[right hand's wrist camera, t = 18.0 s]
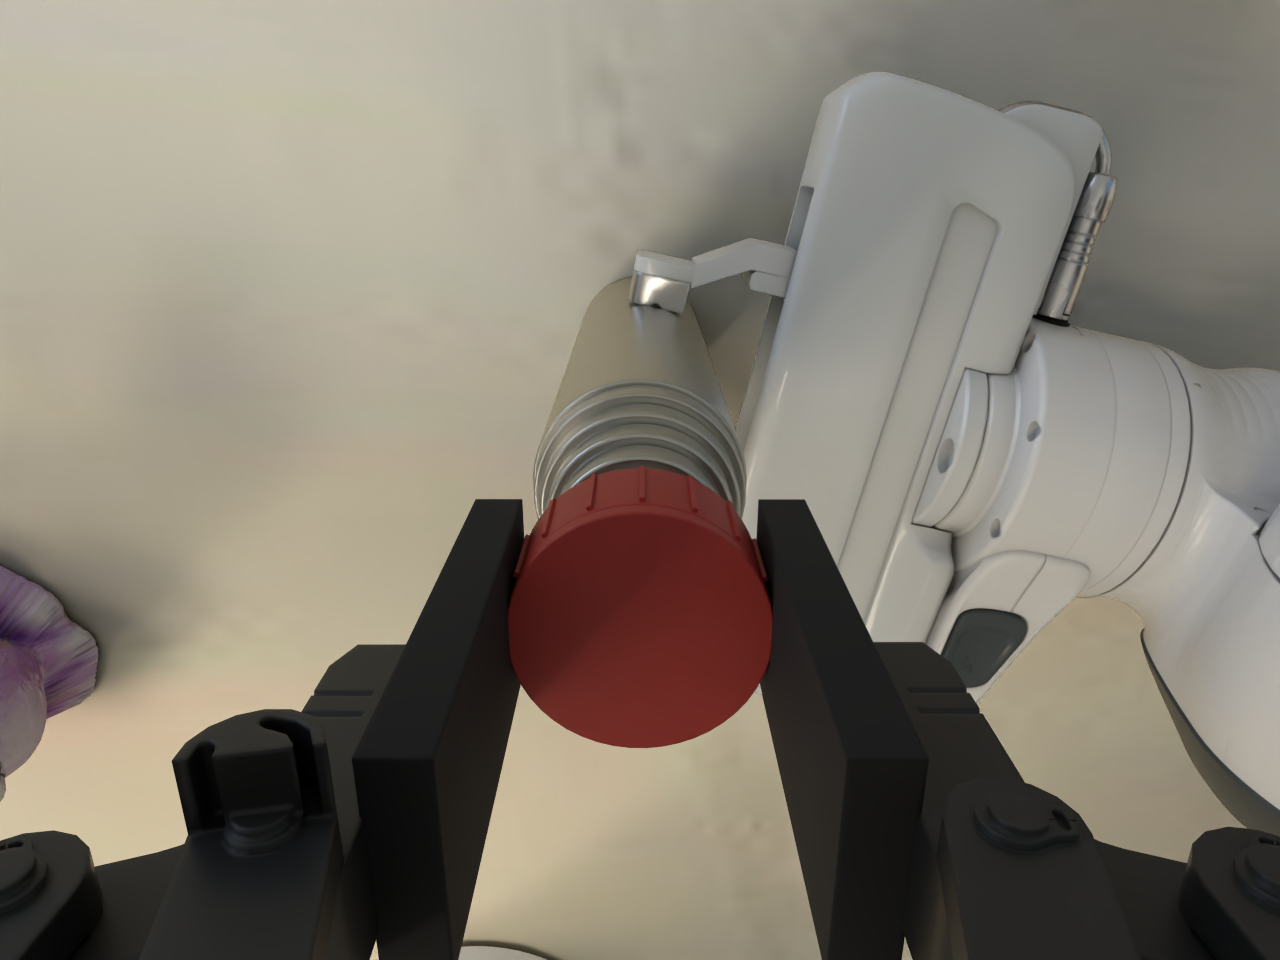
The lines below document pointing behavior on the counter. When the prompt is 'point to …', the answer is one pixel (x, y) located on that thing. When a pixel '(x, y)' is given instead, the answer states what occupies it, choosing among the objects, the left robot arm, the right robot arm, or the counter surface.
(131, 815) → the counter surface
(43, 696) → the figurine
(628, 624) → the cap
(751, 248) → the left robot arm
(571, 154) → the counter surface
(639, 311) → the bottle
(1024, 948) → the right robot arm
